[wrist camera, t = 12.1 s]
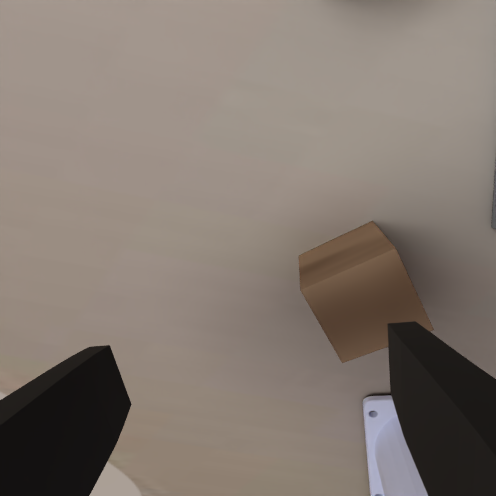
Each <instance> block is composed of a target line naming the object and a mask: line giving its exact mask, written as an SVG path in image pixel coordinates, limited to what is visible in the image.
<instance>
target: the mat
mask: <svg viewBox="0 0 496 496" xmlns="http://www.w3.org/2000/svg"><path fill="white" fill-rule="evenodd" d="M491 227H492V228H494V229H496V163H495V179H494V195H493V211H492V226H491Z"/></svg>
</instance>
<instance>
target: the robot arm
mask: <svg viewBox="0 0 496 496" xmlns="http://www.w3.org/2000/svg"><path fill="white" fill-rule="evenodd" d="M387 325H388V346H389V367H390V389H391V395H387V396H369V397H366V398H365V399H364V400H363V414H364V426H365V438H366V450H367V462H368V475H369V487H370V496H496V379H495V378H493V377H492V376H490V375H489V374H487V373H486V372H485V371H483V370H482V369H480V368H479V367H477V366H476V365H474V364H473V363H472V362H470V361H469V360H468V359H466V358H465V357H463V356H462V355H461V354H459V353H458V352H456V351H455V350H454V349H452V348H451V347H450V346H448V345H447V344H446V343H444V342H443V341H441V340H440V339H439V338H437V337H436V336H435V335H433V334H432V333H431V332H429V331H428V330H427V329H425V328H424V327H423V326H421V325H420V324H418V323H417V322H416V321H413V322H400V323H387ZM130 407H131V402H130V399H129V397H128V394H127V391H126V388H125V386H124V383H123V380H122V378H121V375H120V372H119V369H118V367H117V364H116V361H115V359H114V356H113V353H112V350H111V348H110V345H107V346H94V347H89V348H86V349H84V350H82V351H80V352H79V353H77V354H75V355H73V356H71V357H70V358H68V359H66V360H65V361H63V362H61V363H60V364H58V365H56V366H55V367H53V368H51V369H50V370H48V371H46V372H45V373H43V374H42V375H40V376H38V377H37V378H35V379H34V380H32V381H30V382H29V383H27V384H26V385H24V386H22V387H21V388H19V389H18V390H16V391H14V392H13V393H11V394H10V395H8V396H6V397H5V398H3V399H2V400H0V496H89V495H90V493H91V491H92V490H93V488H94V486H95V484H96V482H97V480H98V478H99V476H100V474H101V472H102V471H103V469H104V467H105V465H106V463H107V461H108V459H109V457H110V455H111V453H112V451H113V449H114V447H115V445H116V443H117V441H118V438H119V436H120V433H121V431H122V429H123V426H124V423H125V421H126V418H127V415H128V412H129V409H130ZM370 411H374V412H370Z"/></svg>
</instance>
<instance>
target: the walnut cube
mask: <svg viewBox="0 0 496 496" xmlns="http://www.w3.org/2000/svg"><path fill="white" fill-rule="evenodd" d="M299 270H300V289H301V292H302V294H303V295H304V297H305V299H306V301H307V302H308V304H309V306H310V308H311V309H312V311H313V313H314V315H315V316H316V318H317V320H318V322H319V323H320V325H321V327H322V329H323V330H324V332H325V334H326V336H327V337H328V339H329V341H330V343H331V344H332V346H333V348H334V350H335V351H336V353H337V355H338V357H339V358H340V360H341V362H342V363H344V362H347V361H349V360H352V359H355V358H358V357H360V356H363V355H366V354H369V353H372V352H374V351H377V350H380V349H383V348H385V347H388V325H387V323H400V322H413V321H416V322H417V323H418V324H420V325H421V326H423V327H424V328H425V329H427V330H428V331H429V332H430V331H432V330H434V329H433V327H432V325H431V322H430V320H429V318H428V316H427V314H426V312H425V310H424V308H423V305H422V303H421V301H420V299H419V297H418V295H417V293H416V290H415V288H414V286H413V284H412V282H411V280H410V278H409V276H408V273H407V271H406V269H405V267H404V265H403V263H402V261H401V258H400V256H399V254H398V252H397V250H396V248H395V247H394V246H393V245H392V243H391V242H390V241H389V240H388V239H387V237H386V236H385V235H384V234H383V233H382V232H381V230H380V229H379V228H378V227H377V226H376V225H375V223H374V222H373V221H371V222H369V223H367V224H365V225H363V226H360V227H358V228H356V229H354V230H352V231H350V232H348V233H346V234H344V235H341V236H339V237H337V238H335V239H333V240H331V241H329V242H327V243H325V244H323V245H320V246H318V247H316V248H314V249H312V250H310V251H308V252H306V253H304V254H301V255H299Z"/></svg>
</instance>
